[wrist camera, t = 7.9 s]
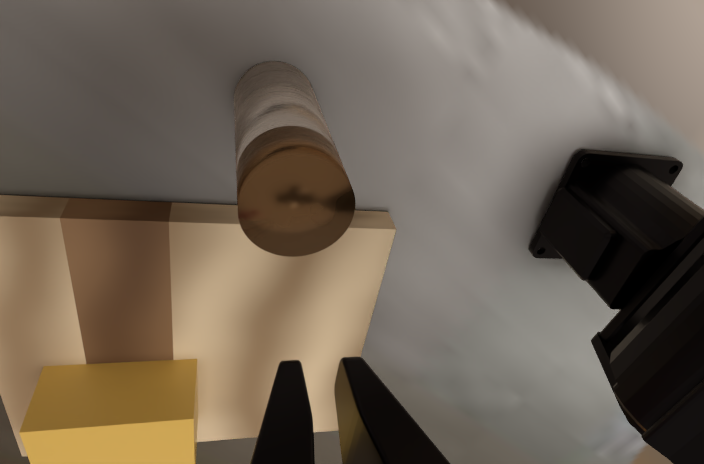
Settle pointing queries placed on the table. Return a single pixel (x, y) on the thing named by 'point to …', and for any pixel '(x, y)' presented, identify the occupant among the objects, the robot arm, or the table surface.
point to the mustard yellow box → (114, 414)
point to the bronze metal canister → (287, 164)
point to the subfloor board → (181, 301)
